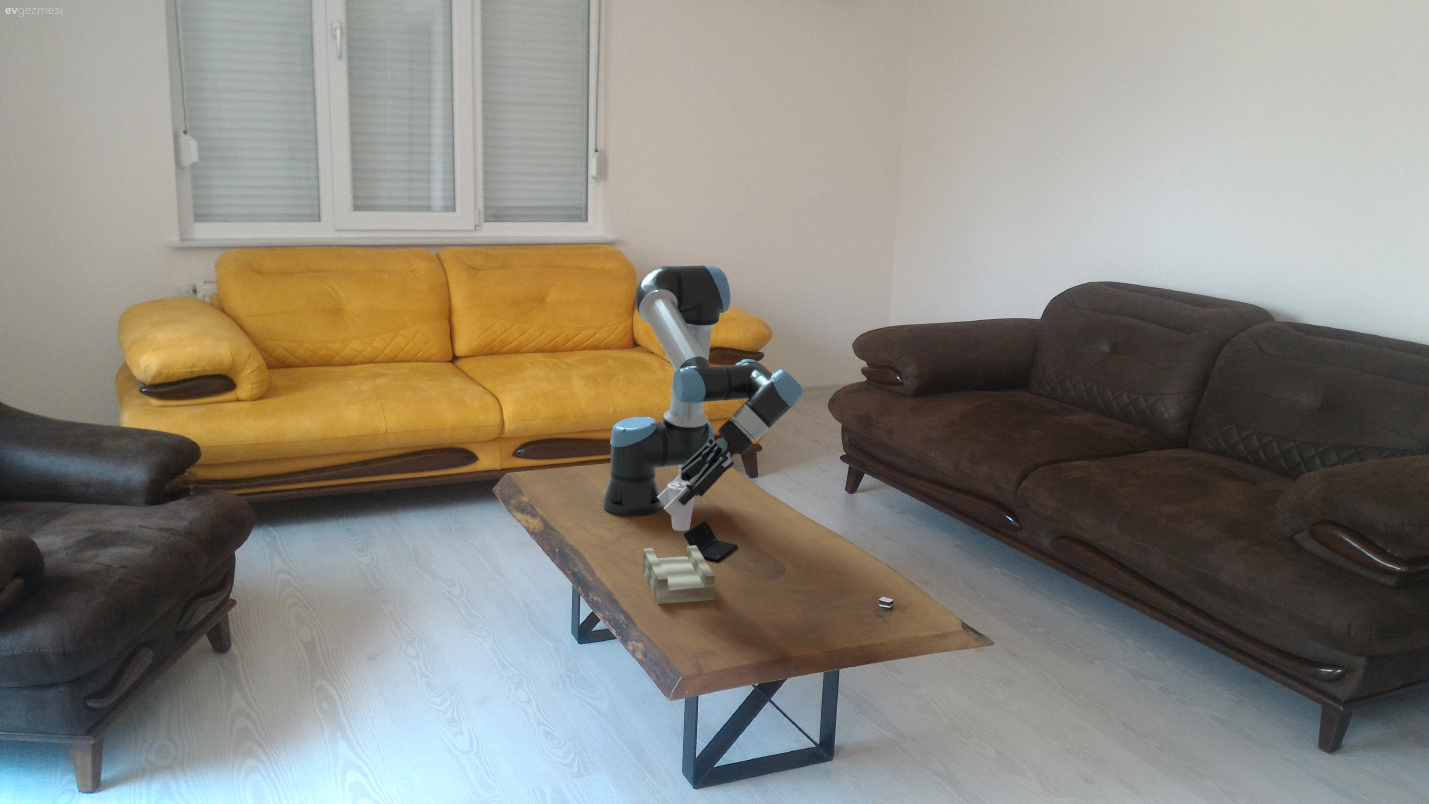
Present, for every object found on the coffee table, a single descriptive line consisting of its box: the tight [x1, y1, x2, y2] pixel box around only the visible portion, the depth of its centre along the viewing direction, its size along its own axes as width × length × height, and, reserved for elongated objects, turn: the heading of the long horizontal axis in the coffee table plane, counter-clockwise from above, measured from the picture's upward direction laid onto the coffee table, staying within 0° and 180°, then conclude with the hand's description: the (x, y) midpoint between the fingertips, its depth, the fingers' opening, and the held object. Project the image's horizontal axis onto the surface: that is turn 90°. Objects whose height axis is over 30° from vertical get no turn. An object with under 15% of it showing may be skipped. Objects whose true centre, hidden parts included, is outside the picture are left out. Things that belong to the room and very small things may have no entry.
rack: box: [642, 545, 716, 605], centre depth 220 cm, size 17×12×6 cm
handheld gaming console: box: [683, 520, 738, 563], centre depth 240 cm, size 12×7×10 cm
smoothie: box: [666, 465, 696, 532], centre depth 216 cm, size 6×6×14 cm
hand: (665, 506), depth 216 cm, fingers closed on smoothie, 6 cm apart
